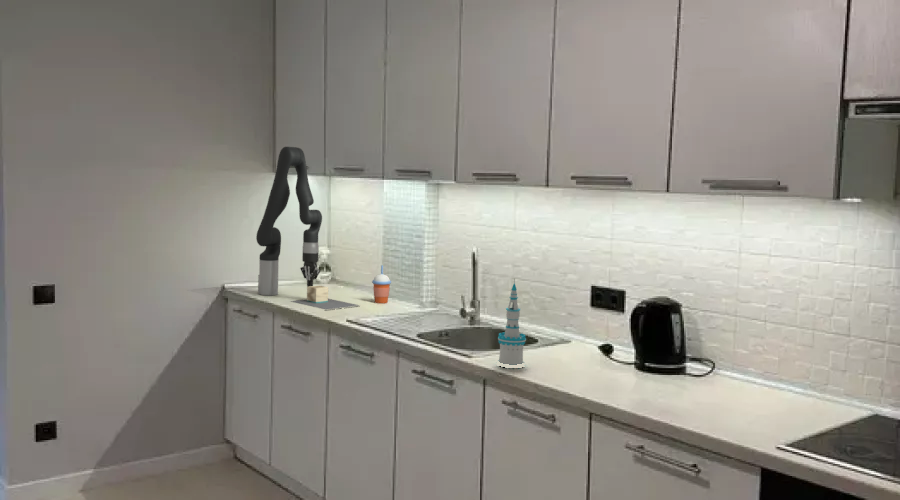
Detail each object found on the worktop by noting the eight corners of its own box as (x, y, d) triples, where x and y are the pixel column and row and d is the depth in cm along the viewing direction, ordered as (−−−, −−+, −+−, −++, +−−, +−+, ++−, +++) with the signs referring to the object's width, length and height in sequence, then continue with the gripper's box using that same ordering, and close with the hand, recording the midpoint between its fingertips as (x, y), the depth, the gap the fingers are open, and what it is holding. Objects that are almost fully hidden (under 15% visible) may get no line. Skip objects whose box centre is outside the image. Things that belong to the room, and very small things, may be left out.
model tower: (508, 370, 287) (512, 280, 284) (490, 363, 295) (493, 276, 292) (531, 367, 293) (535, 279, 290) (513, 360, 301) (517, 275, 298)
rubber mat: (289, 302, 405) (289, 301, 405) (323, 298, 420) (323, 297, 420) (325, 310, 387) (325, 309, 387) (359, 306, 401) (359, 305, 401)
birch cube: (306, 301, 407) (307, 286, 406) (318, 300, 412) (319, 285, 411) (316, 303, 402) (316, 288, 401) (327, 302, 407) (328, 287, 406)
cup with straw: (382, 304, 409) (383, 267, 407) (367, 302, 414) (368, 265, 412) (394, 302, 416) (395, 265, 414) (379, 300, 421) (380, 263, 419)
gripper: (295, 250, 411) (295, 286, 412) (312, 253, 402) (312, 290, 403) (308, 250, 416) (307, 285, 418) (325, 252, 407) (324, 288, 409)
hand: (310, 287), depth 411 cm, fingers closed
